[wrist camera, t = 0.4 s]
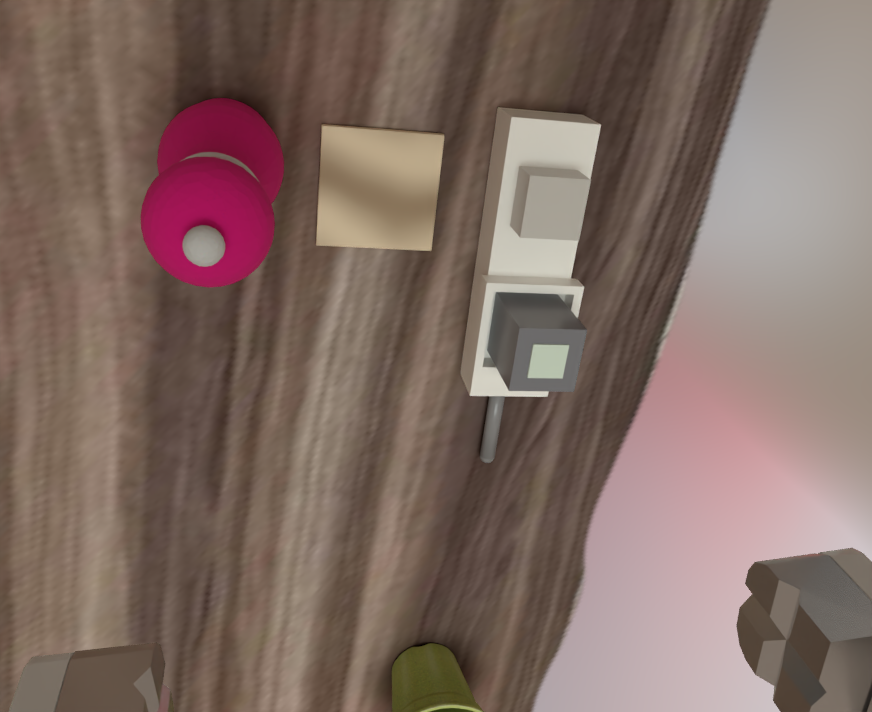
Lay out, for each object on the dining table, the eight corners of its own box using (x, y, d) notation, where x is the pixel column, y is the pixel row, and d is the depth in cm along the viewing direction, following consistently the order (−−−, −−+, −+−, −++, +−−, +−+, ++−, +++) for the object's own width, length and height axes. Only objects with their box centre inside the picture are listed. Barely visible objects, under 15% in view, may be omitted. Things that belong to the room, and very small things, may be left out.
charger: (496, 291, 55) (520, 328, 50) (557, 294, 56) (587, 330, 51) (486, 350, 57) (509, 392, 52) (546, 351, 58) (574, 392, 53)
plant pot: (414, 614, 72) (431, 692, 65) (492, 648, 76) (517, 726, 69) (354, 681, 75) (364, 764, 67) (433, 712, 79) (450, 793, 71)
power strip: (491, 106, 53) (515, 124, 48) (588, 115, 55) (622, 133, 49) (443, 456, 65) (458, 501, 60) (524, 455, 67) (545, 499, 61)
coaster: (321, 123, 52) (322, 125, 51) (442, 133, 53) (444, 135, 53) (315, 242, 55) (316, 245, 55) (429, 248, 57) (431, 251, 56)
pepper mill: (220, 63, 49) (192, 129, 32) (306, 149, 52) (324, 251, 35) (141, 147, 50) (73, 254, 33) (230, 225, 54) (211, 361, 36)
